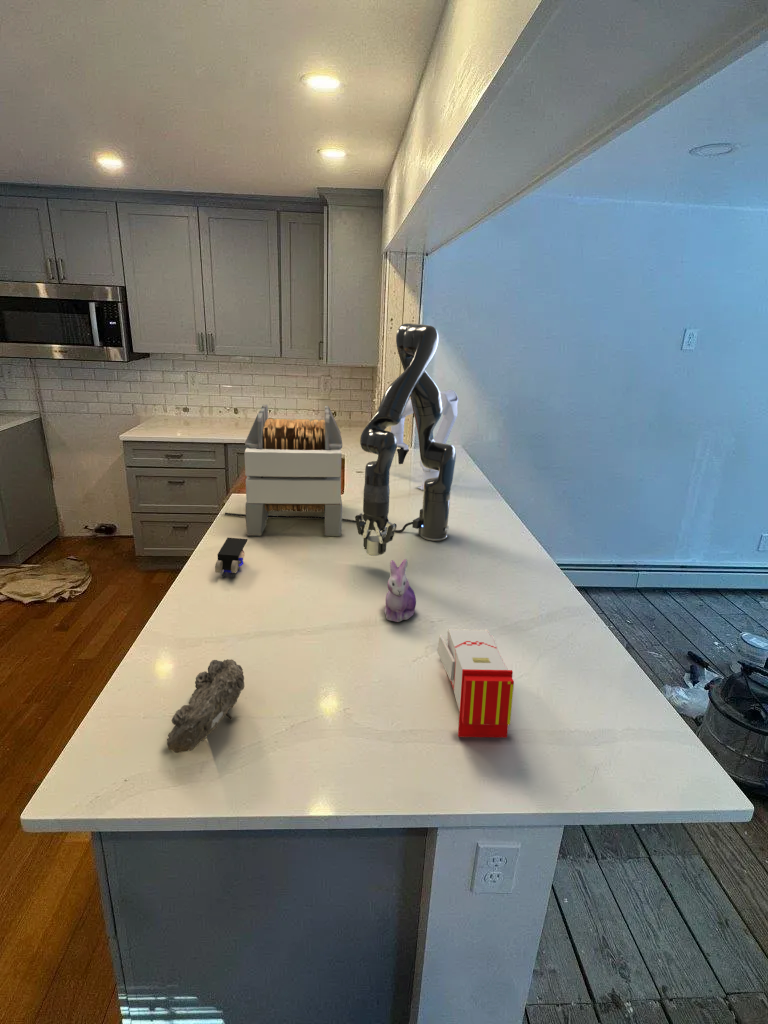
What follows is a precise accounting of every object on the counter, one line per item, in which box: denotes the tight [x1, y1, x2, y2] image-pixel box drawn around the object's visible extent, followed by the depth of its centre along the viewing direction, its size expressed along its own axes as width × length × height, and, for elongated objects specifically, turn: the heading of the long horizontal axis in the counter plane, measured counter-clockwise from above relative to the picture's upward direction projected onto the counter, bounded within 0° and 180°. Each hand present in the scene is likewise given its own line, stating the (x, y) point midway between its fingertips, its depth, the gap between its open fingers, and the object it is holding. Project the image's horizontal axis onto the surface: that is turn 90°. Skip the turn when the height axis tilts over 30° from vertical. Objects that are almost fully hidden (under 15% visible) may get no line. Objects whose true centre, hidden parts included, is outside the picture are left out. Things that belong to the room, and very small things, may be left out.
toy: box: [437, 628, 515, 738], centre depth 117 cm, size 12×13×30 cm
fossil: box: [166, 658, 245, 754], centre depth 106 cm, size 22×10×15 cm
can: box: [365, 535, 381, 557], centre depth 170 cm, size 5×5×4 cm
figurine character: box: [214, 537, 248, 578], centre depth 166 cm, size 7×8×15 cm
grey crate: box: [244, 404, 343, 537], centre depth 202 cm, size 34×33×41 cm
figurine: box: [384, 558, 417, 623], centre depth 145 cm, size 9×10×15 cm
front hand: (374, 551), depth 170 cm, fingers closed on can, 4 cm apart
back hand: (395, 461), depth 259 cm, fingers open, 7 cm apart
